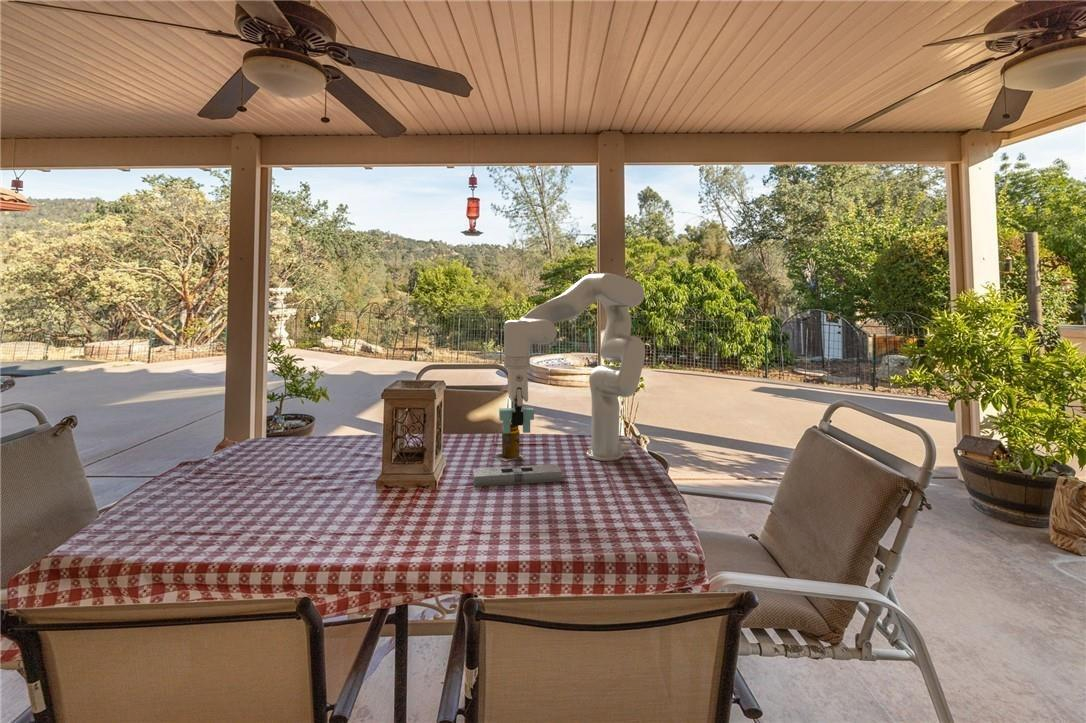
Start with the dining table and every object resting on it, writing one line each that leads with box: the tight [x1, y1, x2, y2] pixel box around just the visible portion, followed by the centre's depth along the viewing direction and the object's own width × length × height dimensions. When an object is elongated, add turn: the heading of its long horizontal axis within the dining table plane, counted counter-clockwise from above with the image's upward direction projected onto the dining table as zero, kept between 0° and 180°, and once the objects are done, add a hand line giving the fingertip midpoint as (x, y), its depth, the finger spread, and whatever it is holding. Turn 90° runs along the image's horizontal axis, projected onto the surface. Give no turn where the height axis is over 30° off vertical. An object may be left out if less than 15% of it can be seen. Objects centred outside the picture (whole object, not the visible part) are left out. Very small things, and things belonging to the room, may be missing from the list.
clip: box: [498, 407, 535, 434], centre depth 147 cm, size 10×3×7 cm, turn 100°
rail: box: [472, 463, 563, 488], centre depth 149 cm, size 26×7×3 cm, turn 100°
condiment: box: [493, 420, 525, 462], centre depth 171 cm, size 7×8×12 cm
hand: (516, 423), depth 147 cm, fingers closed on clip, 3 cm apart
